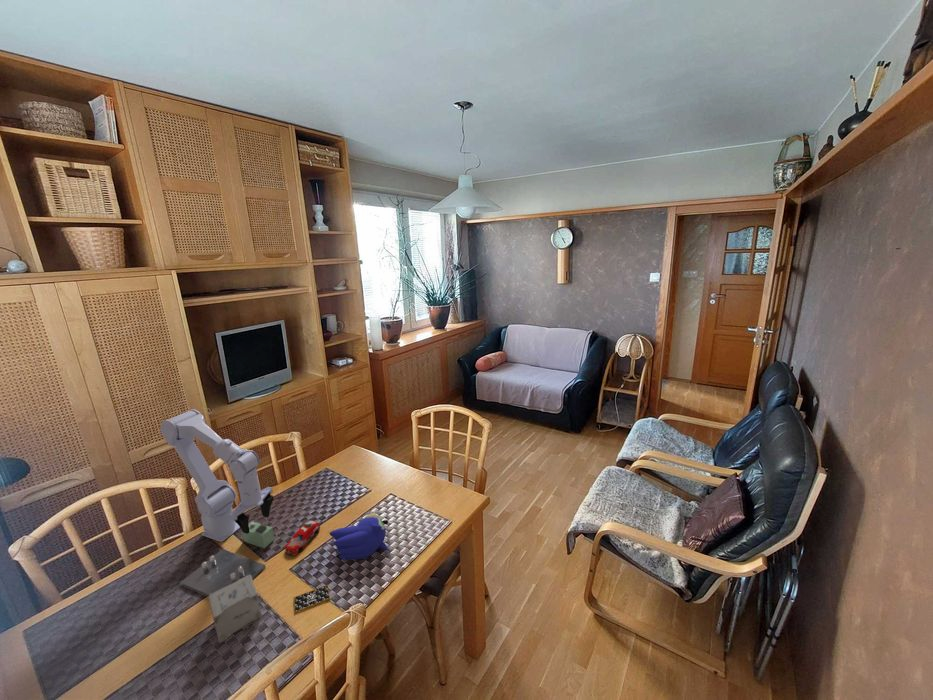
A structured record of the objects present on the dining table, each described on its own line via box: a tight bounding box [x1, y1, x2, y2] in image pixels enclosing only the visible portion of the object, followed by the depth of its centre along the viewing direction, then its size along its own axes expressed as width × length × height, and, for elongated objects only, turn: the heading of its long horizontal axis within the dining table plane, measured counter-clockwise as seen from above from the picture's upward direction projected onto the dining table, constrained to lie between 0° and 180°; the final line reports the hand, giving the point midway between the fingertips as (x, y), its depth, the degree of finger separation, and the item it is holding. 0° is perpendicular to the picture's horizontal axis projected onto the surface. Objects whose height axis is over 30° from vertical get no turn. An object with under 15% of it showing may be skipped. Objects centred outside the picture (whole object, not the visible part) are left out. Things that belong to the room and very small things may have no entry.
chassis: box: [180, 549, 266, 598], centre depth 109 cm, size 18×13×4 cm
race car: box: [284, 520, 321, 556], centre depth 122 cm, size 13×5×4 cm, turn 162°
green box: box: [241, 520, 275, 549], centre depth 122 cm, size 9×4×6 cm, turn 70°
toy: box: [328, 512, 390, 560], centre depth 118 cm, size 10×17×15 cm
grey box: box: [208, 575, 263, 644], centre depth 94 cm, size 10×8×10 cm
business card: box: [293, 584, 331, 614], centre depth 102 cm, size 9×1×5 cm
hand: (256, 524), depth 121 cm, fingers open, 7 cm apart
